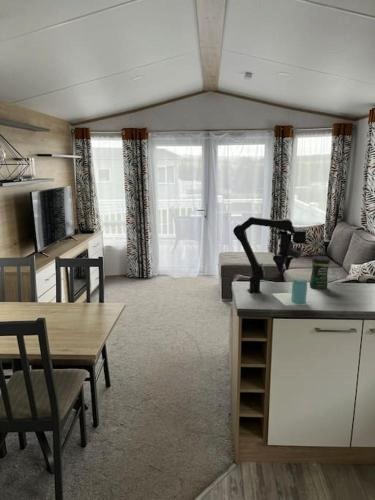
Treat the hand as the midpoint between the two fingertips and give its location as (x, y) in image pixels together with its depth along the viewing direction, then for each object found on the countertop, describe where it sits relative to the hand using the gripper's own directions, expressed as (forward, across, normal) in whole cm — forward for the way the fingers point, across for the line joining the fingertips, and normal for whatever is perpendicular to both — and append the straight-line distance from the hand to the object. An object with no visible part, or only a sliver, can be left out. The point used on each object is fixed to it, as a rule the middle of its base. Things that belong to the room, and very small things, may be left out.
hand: (283, 271), depth 205 cm
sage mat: (+13, -6, -7) cm, 16 cm away
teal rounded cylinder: (+13, -8, -12) cm, 19 cm away
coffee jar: (+13, +25, -12) cm, 31 cm away
